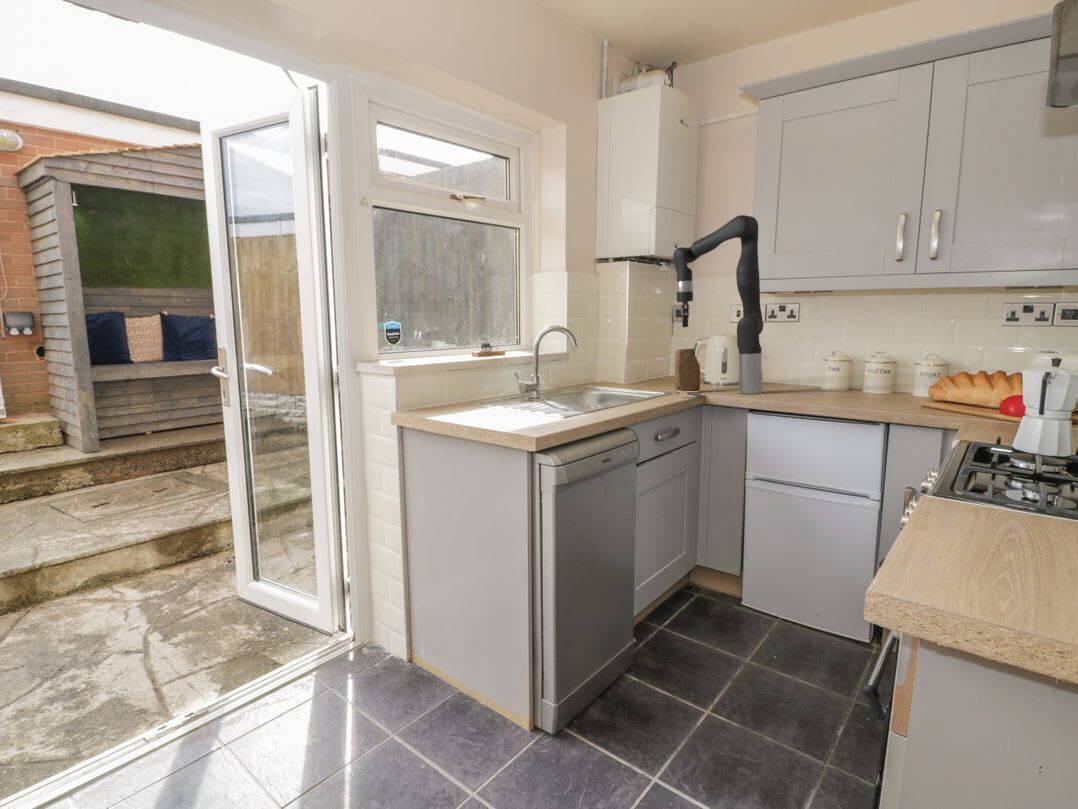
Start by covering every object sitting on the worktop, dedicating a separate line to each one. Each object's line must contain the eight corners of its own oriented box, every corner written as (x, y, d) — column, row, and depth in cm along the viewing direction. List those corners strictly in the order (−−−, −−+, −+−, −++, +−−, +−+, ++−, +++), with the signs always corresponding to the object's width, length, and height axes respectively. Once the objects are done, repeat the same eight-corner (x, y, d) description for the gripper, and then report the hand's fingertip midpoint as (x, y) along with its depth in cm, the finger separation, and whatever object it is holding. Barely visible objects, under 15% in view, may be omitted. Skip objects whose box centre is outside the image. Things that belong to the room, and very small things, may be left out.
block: (677, 393, 263) (676, 349, 261) (673, 392, 271) (673, 348, 268) (701, 392, 263) (701, 348, 260) (697, 391, 270) (696, 347, 268)
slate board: (697, 394, 258) (697, 391, 258) (699, 397, 247) (699, 394, 246) (679, 394, 260) (679, 392, 260) (680, 397, 248) (680, 395, 248)
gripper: (693, 289, 265) (694, 326, 267) (692, 291, 279) (692, 326, 281) (677, 290, 267) (677, 327, 269) (675, 292, 281) (676, 327, 283)
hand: (685, 327), depth 275 cm, fingers open, 6 cm apart
